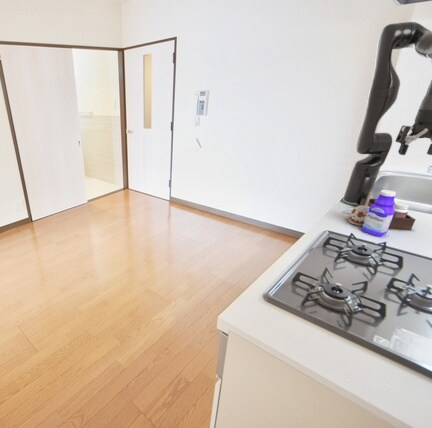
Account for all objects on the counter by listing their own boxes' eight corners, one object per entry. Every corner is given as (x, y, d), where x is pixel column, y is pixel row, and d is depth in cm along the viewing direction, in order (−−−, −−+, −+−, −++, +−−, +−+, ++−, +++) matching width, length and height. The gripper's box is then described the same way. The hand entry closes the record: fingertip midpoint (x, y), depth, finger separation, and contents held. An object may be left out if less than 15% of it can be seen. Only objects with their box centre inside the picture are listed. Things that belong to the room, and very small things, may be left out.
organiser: (358, 207, 131) (361, 198, 129) (377, 208, 129) (381, 198, 127) (388, 229, 112) (392, 218, 110) (410, 230, 110) (415, 219, 108)
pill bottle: (405, 225, 112) (414, 206, 109) (395, 226, 112) (403, 207, 108) (393, 220, 116) (400, 201, 113) (383, 221, 116) (390, 202, 112)
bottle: (358, 230, 112) (372, 190, 105) (366, 227, 114) (381, 187, 107) (379, 238, 106) (397, 196, 99) (388, 235, 108) (405, 193, 101)
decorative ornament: (343, 220, 121) (354, 187, 114) (359, 218, 121) (371, 186, 115) (359, 228, 114) (371, 194, 107) (376, 226, 114) (390, 192, 108)
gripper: (451, 106, 97) (431, 152, 104) (402, 107, 100) (386, 152, 107) (471, 108, 91) (448, 157, 98) (418, 109, 94) (399, 157, 101)
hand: (415, 154), depth 102 cm, fingers open, 8 cm apart
